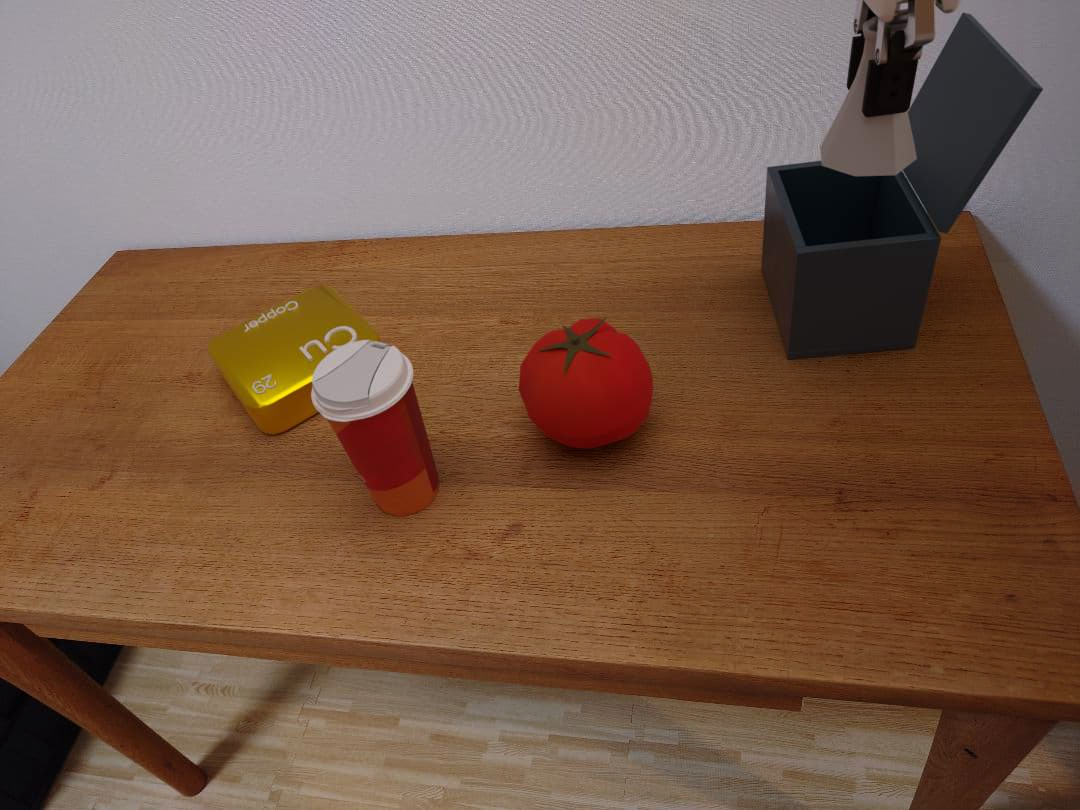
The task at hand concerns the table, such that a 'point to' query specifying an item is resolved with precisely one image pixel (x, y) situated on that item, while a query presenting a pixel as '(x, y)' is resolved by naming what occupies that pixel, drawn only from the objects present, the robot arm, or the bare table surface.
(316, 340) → the element tile
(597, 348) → the tomato
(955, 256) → the table surface
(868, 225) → the cool box
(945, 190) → the lid
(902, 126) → the flask
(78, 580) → the table surface
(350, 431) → the coffee cup
